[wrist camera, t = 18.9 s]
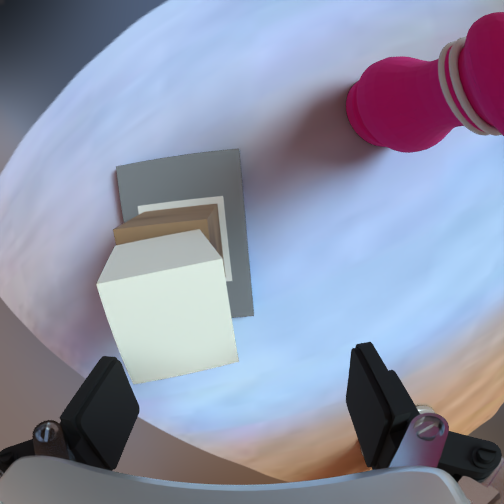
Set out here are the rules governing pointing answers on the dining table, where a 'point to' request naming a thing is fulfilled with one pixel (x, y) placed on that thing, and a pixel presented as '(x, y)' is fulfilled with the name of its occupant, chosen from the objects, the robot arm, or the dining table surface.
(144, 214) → the walnut block
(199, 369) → the cream block
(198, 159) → the pad
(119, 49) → the dining table surface
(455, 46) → the pepper mill
